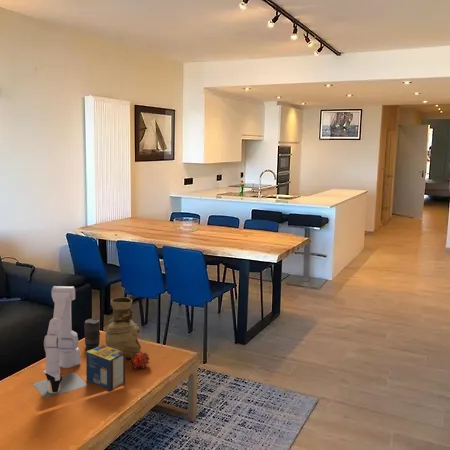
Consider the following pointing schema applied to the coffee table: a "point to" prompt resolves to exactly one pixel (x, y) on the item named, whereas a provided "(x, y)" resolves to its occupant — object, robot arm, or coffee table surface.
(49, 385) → the cap
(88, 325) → the camera lens
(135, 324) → the ceramic vessel
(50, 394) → the base
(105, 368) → the protein box
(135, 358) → the dragon fruit
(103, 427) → the coffee table surface
